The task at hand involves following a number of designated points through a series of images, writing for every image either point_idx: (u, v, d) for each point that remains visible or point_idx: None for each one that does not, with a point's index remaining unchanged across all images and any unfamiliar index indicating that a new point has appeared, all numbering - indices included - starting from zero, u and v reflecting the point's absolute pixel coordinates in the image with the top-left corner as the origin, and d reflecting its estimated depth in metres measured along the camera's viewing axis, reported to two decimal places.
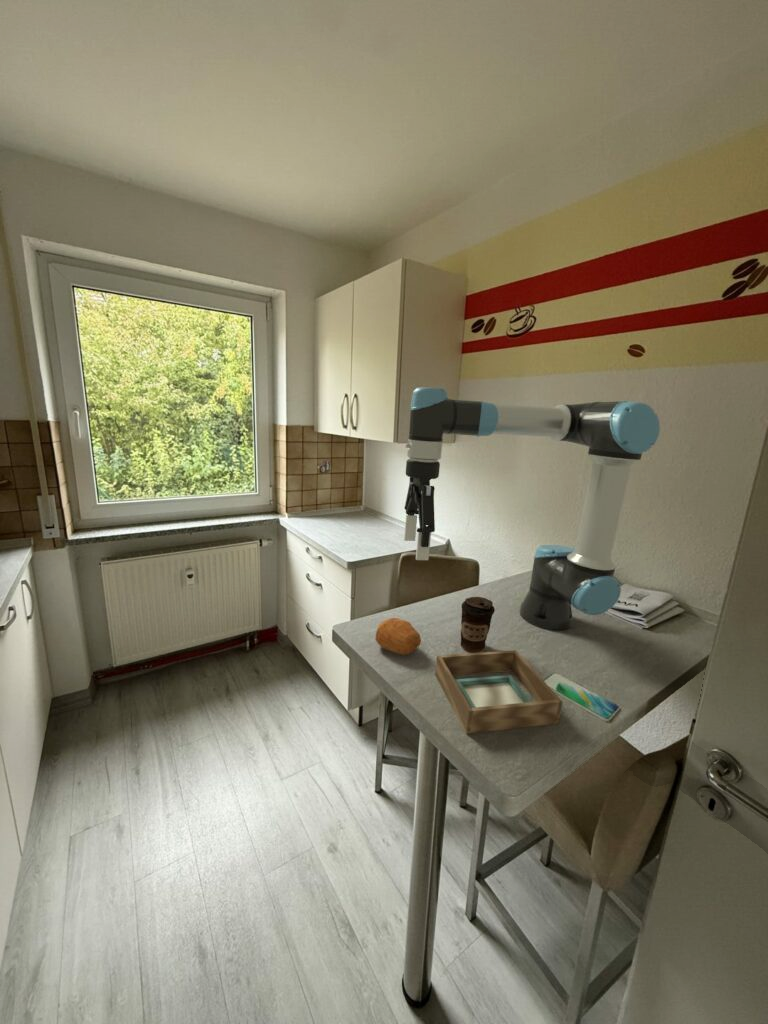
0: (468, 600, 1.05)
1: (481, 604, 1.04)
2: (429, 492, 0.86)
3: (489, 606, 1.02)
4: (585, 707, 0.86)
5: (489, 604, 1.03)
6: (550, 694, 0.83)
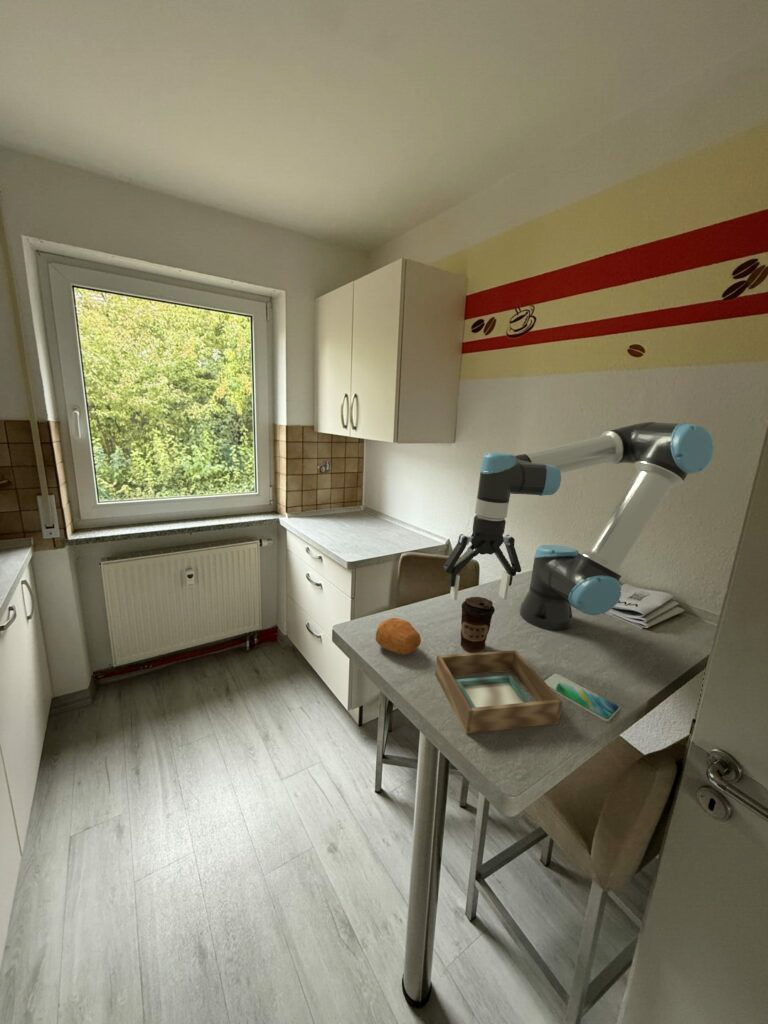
0: (468, 600, 1.05)
1: (481, 604, 1.04)
2: (460, 541, 0.98)
3: (489, 606, 1.02)
4: (585, 707, 0.86)
5: (489, 604, 1.03)
6: (550, 694, 0.83)
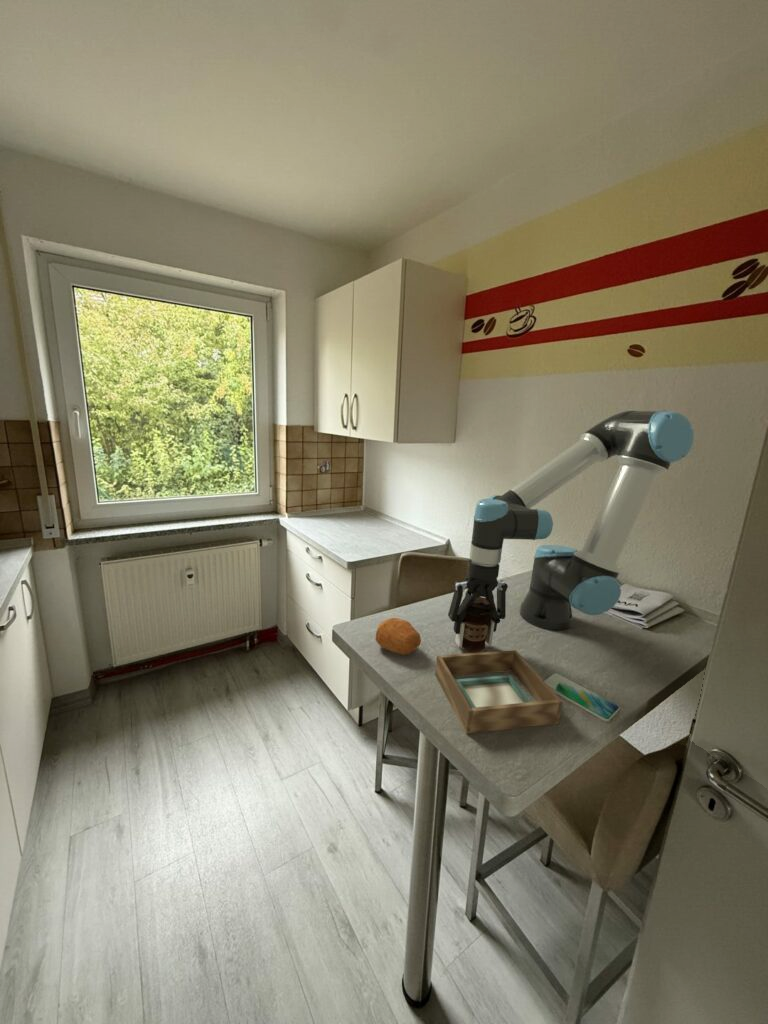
0: None
1: (481, 604, 1.04)
2: (456, 589, 1.01)
3: (489, 606, 1.02)
4: (585, 707, 0.86)
5: (489, 604, 1.03)
6: (550, 694, 0.83)
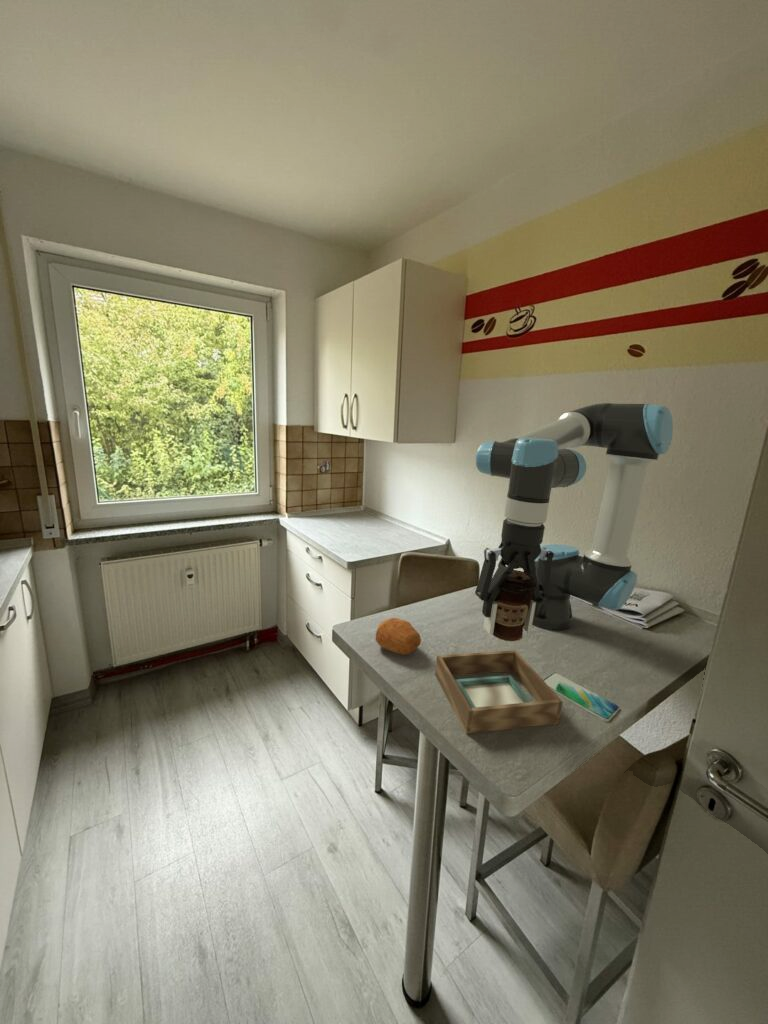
0: None
1: (519, 578, 0.79)
2: (487, 558, 0.77)
3: (530, 580, 0.78)
4: (585, 707, 0.86)
5: (529, 578, 0.79)
6: (550, 694, 0.83)
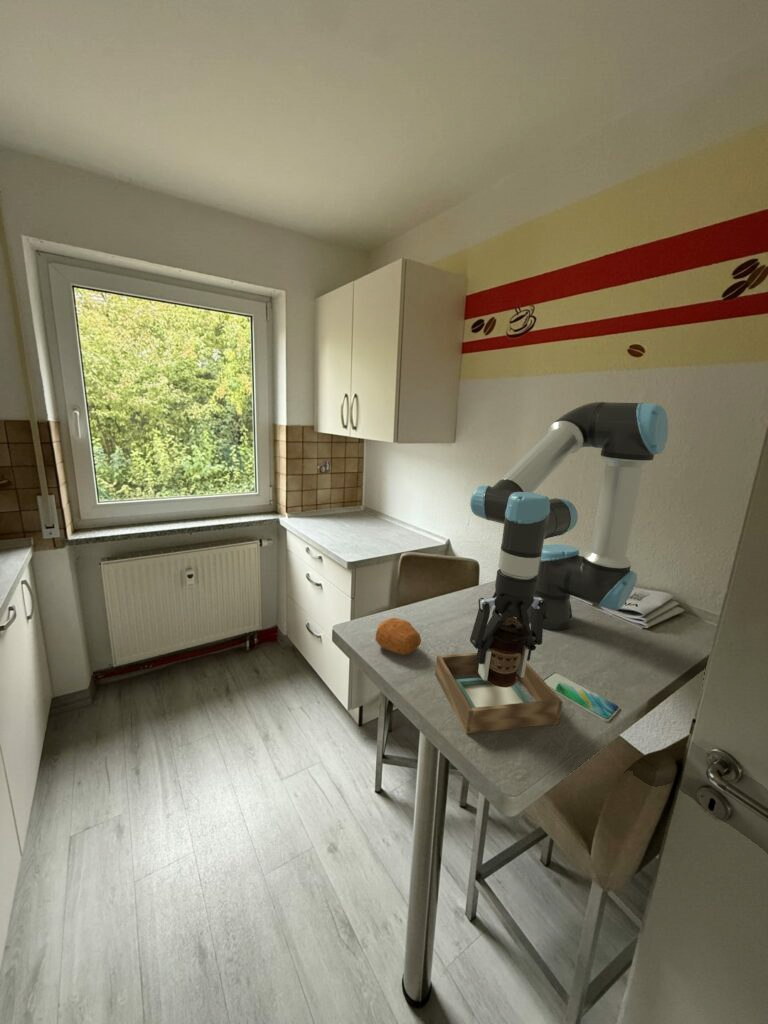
0: None
1: (512, 626, 0.81)
2: (481, 608, 0.79)
3: (523, 629, 0.80)
4: (585, 707, 0.86)
5: (522, 626, 0.81)
6: (550, 694, 0.83)
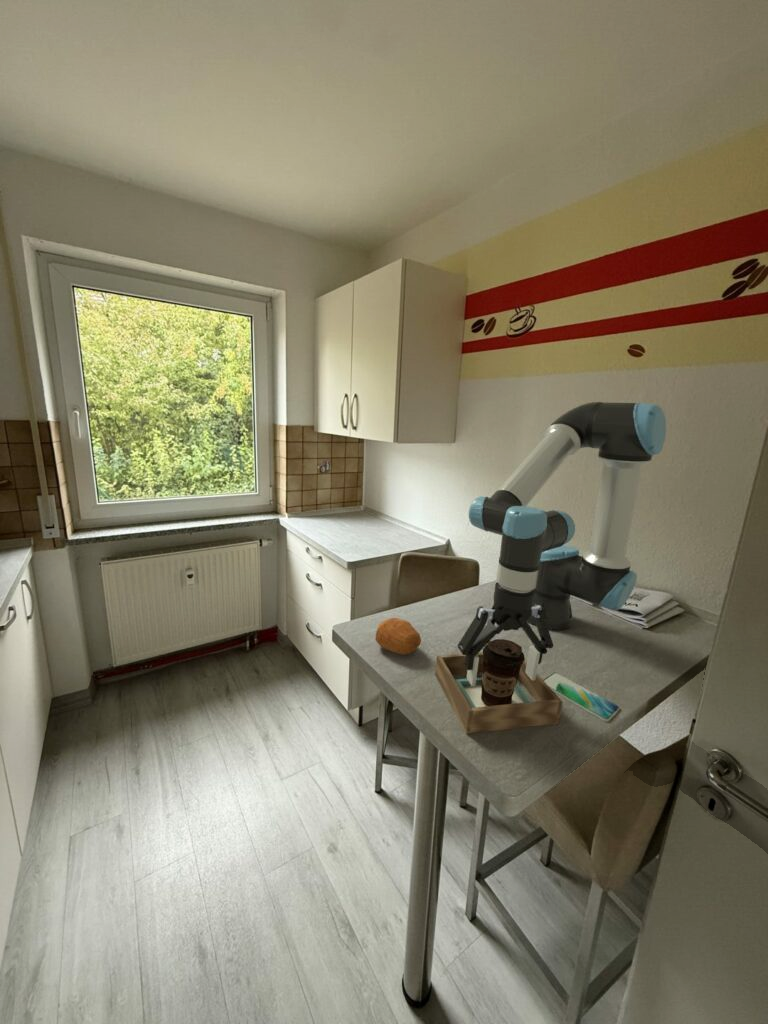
0: (491, 644, 0.84)
1: (508, 650, 0.83)
2: (479, 616, 0.80)
3: (518, 654, 0.81)
4: (585, 707, 0.86)
5: (518, 651, 0.82)
6: (550, 694, 0.83)
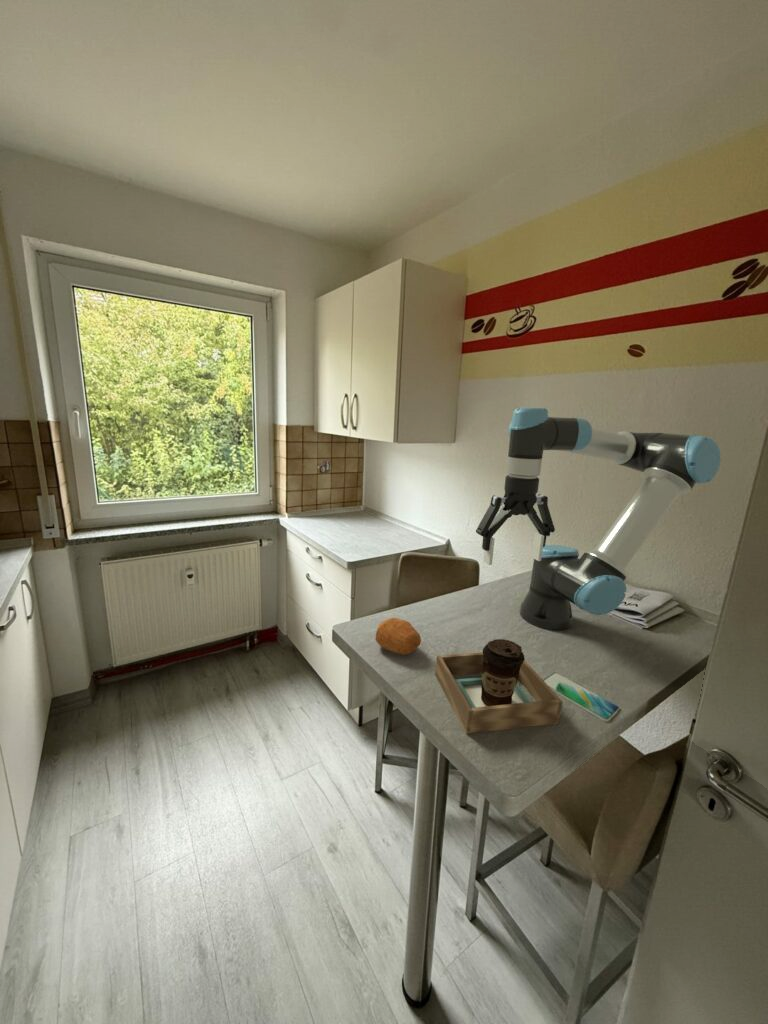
0: (491, 644, 0.84)
1: (507, 650, 0.83)
2: (494, 502, 0.95)
3: (518, 654, 0.81)
4: (585, 707, 0.86)
5: (518, 651, 0.82)
6: (550, 694, 0.83)
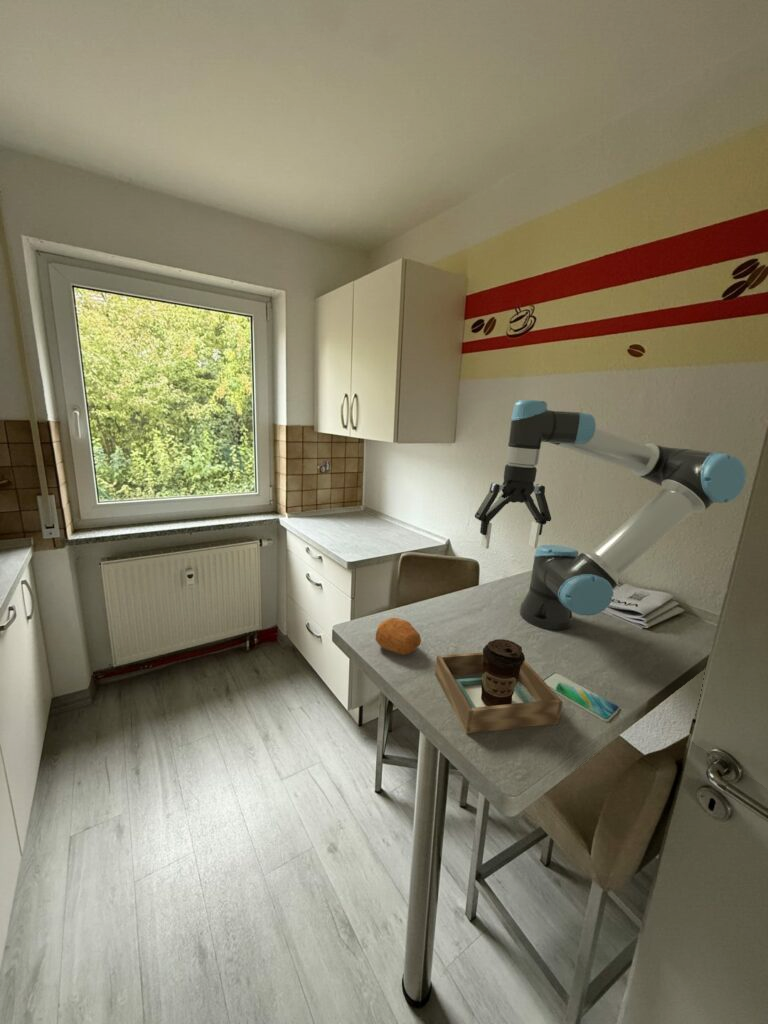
0: (491, 644, 0.84)
1: (508, 650, 0.83)
2: (492, 489, 1.00)
3: (518, 654, 0.81)
4: (585, 707, 0.86)
5: (518, 651, 0.82)
6: (550, 694, 0.83)
